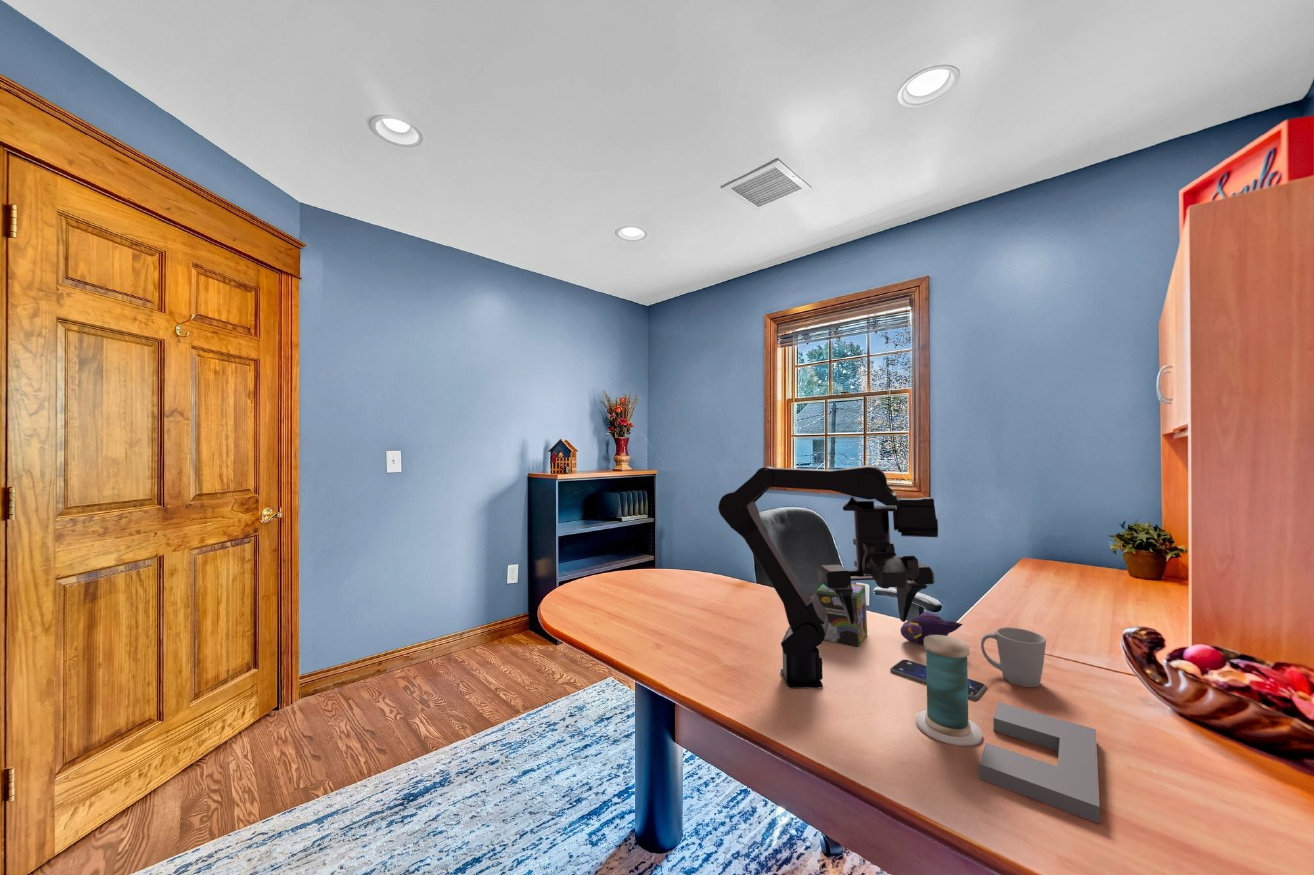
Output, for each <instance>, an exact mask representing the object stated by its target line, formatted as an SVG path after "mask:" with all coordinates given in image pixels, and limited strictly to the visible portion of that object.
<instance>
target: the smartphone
mask: <svg viewBox="0 0 1314 875" xmlns="http://www.w3.org/2000/svg"><path fill="white" fill-rule="evenodd" d="M889 671H890V672H891V673H892V674H894V675H896V676H899V677H902V678H905V679H908V680H910V681H914V682H917V683H921V684H923V685H925V686H927V673H926V664H923V663H918V662H915V661H912V660H910V659H901V660H900V661H898V662H897V663H895V664H894V665H892V667H890V670H889ZM987 689H988V686H987V685H986V684H985V683H983V682H980V681H977V680H974V679H971V678H968V700H972V701H977V700H979V699H980V698H981V697H982V695H983V694H984V693H985V692H986V691H987Z"/></svg>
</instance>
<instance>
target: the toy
mask: <svg viewBox="0 0 1314 875" xmlns="http://www.w3.org/2000/svg"><path fill="white" fill-rule="evenodd" d="M963 625H964V624H963V623H960V622H958V621H957V622H956V621H953V620H944V619H942V618H941V616H939V615H937V614H935V613H933V612H930V611H924V612H922V613H921V614H919V616H916V617H912V618H911V619H909V620H907V621H905V622H903V624H902V626H901V627H900V635H901V636H902V637H903V639H904V638H905V639H904V640H907V641H908V642H911V643H914V644H919V645H924V638H925V637H926V636H929V635H944V636H949V634H951V633H953V632H955V631H957V630H958V629H959V628H961V626H963Z"/></svg>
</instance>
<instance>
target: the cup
mask: <svg viewBox="0 0 1314 875" xmlns="http://www.w3.org/2000/svg"><path fill="white" fill-rule="evenodd" d="M989 639H994V640H996V643H997V644H996V645H997V651H998V656H999V661H997V660H994V659H993V658H991V657H990V656H989V655H988V654H987V652H986V650H985V642H986V640H989ZM1046 644H1047V639H1046V638H1045V637H1044V636H1043V635H1041V634H1040V633H1037V632H1034V631H1032V630H1028V629H1023V628H1019V627H998V628H997V629H995V632H990V633H987V634H984V635H983V636H982V638H981V641H980V649H981V653H982V655H983V656H984V658H985V660H986V661H987V662H988V663H989V664H990V665H991V666H992V667H994V668H996V669H997V670H999V671H1001V673H1002V677H1003V678H1004V680H1006V681H1007V682H1009V683H1011V684H1013V685H1017V686H1020V687H1025V688H1037V687H1039V686H1041V683H1042V682H1041V681H1042V676H1043V669H1044V663H1045V656H1046V654H1045V653H1046Z"/></svg>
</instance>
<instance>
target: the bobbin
mask: <svg viewBox="0 0 1314 875" xmlns="http://www.w3.org/2000/svg"><path fill="white" fill-rule="evenodd" d="M923 648H924V649H925V652H926V653H925V658H926V659H925V662H926V663H925V665H926V673H927V685H926V710H927V711H926V712H925V721H926V724H927V725H928V726H929V727H930V728H932V729H933V730H935V731H937V732H939V733H941V734H944V735H948V736H953V737H965V736H968V735H969V734H970V733H971V723H970V721H969V720H970V719H969V699H968V679H969V678H968V677H969V674H968V657H969V655H970V645H969V644H968V643H967V642H966V641H964V640H962V639H959V638H957V637H953V636H949V635H947V636H944V635H929V636H926V637H925V638H924V644H923ZM968 719H969V720H968Z"/></svg>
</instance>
